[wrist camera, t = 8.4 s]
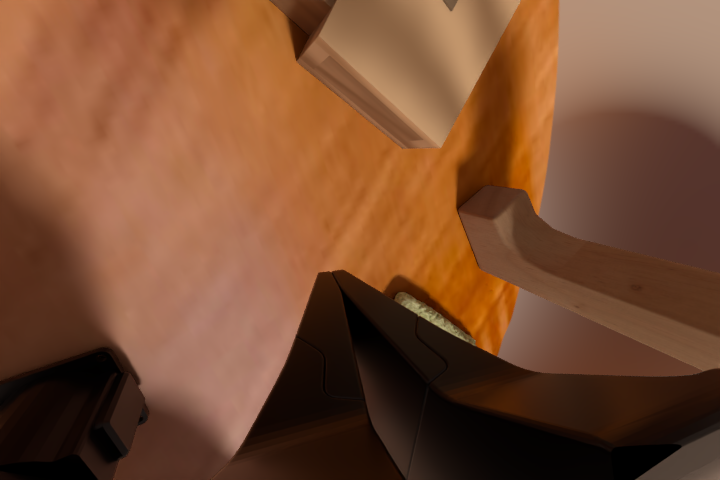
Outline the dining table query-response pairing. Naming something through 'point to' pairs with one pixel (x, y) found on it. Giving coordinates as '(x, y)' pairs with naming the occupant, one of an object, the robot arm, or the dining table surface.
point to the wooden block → (597, 278)
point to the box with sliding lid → (401, 57)
